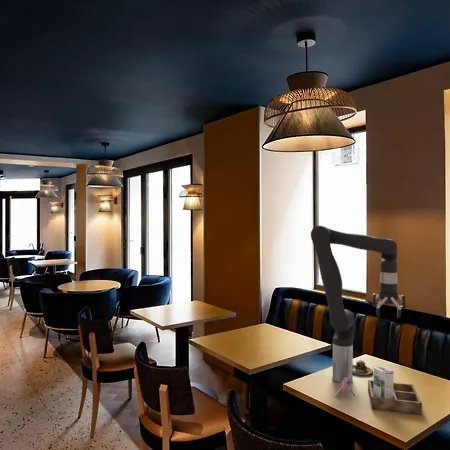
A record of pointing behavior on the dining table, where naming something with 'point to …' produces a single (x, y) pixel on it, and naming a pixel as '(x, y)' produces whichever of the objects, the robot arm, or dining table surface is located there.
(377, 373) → the syrup box
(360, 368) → the burger
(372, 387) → the caddy
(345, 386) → the lily
